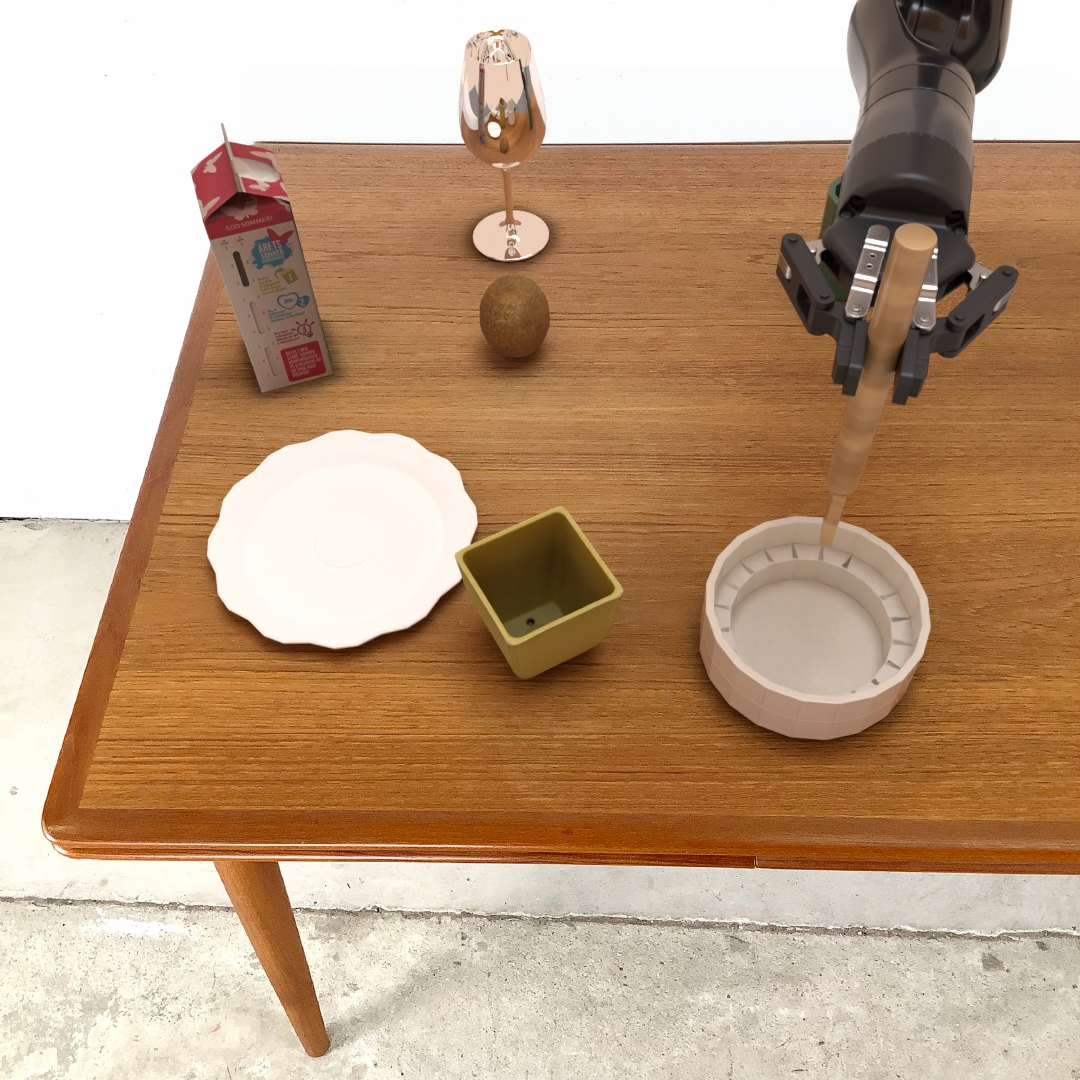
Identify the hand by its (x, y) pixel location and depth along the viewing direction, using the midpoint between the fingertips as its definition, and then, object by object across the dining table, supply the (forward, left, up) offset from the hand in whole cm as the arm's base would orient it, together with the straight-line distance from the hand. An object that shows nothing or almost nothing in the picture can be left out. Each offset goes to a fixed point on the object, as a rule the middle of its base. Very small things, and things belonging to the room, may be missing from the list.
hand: (877, 388), depth 58 cm
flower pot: (+10, -15, -29) cm, 35 cm away
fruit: (-11, -37, -29) cm, 48 cm away
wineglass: (-22, -48, -29) cm, 60 cm away
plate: (+14, -33, -29) cm, 46 cm away
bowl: (-2, 0, -29) cm, 29 cm away
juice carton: (+3, -52, -29) cm, 60 cm away
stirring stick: (-3, -1, -16) cm, 17 cm away
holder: (-37, -20, -29) cm, 51 cm away
